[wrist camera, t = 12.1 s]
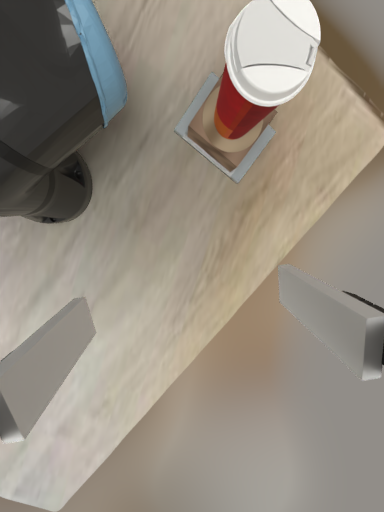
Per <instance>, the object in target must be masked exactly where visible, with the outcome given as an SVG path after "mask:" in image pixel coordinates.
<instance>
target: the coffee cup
mask: <svg viewBox="0 0 384 512" xmlns="http://www.w3.org/2000/svg"><path fill="white" fill-rule="evenodd" d="M319 44H320V24H319V19H318V16H317V13H316V10H315V9H314V7H313V5H312V3H311V2H310V1H309V0H253V1H251V2H250V3H249V4H247V5H246V6H245V7H244V8H243V9H242V10H241V11H240V13H239V14H238V16H237V17H236V19H235V20H234V21H233V23H232V24H231V25H230V27H229V30H228V33H227V36H226V41H225V48H224V55H225V59H226V64H225V68H224V73H223V77H222V81H221V85H220V90H219V94H218V98H217V103H216V107H215V113H214V124H215V127H216V129H217V131H218V133H219V134H220V135H221V136H222V137H224V138H226V139H230V140H234V139H238V138H240V137H242V136H244V135H245V134H246V133H247V132H249V131H250V130H251V129H252V128H253V127H255V126H256V125H257V124H258V123H259V122H260V121H261V120H263V119H264V118H265V117H266V116H267V115H268V114H269V113H271V112H272V111H273V110H274V109H275V108H276V107H277V106H279V105H280V104H283V103H285V102H287V101H289V100H290V99H292V98H293V97H294V96H295V95H296V94H298V93H299V92H300V90H301V89H302V88H303V87H304V85H305V84H306V82H307V81H308V79H309V77H310V74H311V72H312V70H313V66H314V63H315V58H316V53H317V50H318V49H317V47H318V45H319Z"/></svg>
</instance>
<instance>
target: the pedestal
mask: <svg viewBox="0 0 384 512" xmlns="http://www.w3.org/2000/svg"><path fill="white" fill-rule="evenodd" d="M223 73H224V72H223ZM222 77H223V74H222V75H221V77H220V78H219V80H218V81H217V83H216V84H215V86H214V87H213V89H212V90H211V92H210V93H209V95H208V97H207V98H206V100H205V101H204V103H203V104H202V106H201V107H200V109H199V110H198V112H197V113H196V115H195V116H194V118H193V119H192V121H191V122H190V124H189V125H188V135H187V137H189V138H190V139H191V140H192V141H193V142H195V143H196V144H197V145H198V146H199V147H200V148H202V149H203V150H204V151H205V152H206V153H208V154H209V155H210V156H211V157H212V158H214V159H215V160H216V161H217V162H218V163H220V164H221V165H222V166H223V167H224V168H226V169H227V170H228V171H229V172H231V171H232V170H234V169H235V168H237V167H238V166H239V164H240V163H241V161H242V160H243V159H244V157H245V156H246V155H247V153H248V152H249V150H250V149H251V148H252V146H253V145H254V144H255V142H256V141H257V140H258V138H259V137H260V135H261V134H262V133H263V131H264V130H265V129H266V127H267V126H268V124H269V123H270V122H271V120H272V119H273V118H274V116H275V115H276V114H277V111H276V110H275V109H274V110H273V111H272V112H271V113H269V114H268V115H267V116H266V117H265V118H264V119H263V120H261V121H260V122H259V123H258V124H257V125H256V126H255V127H253V128H252V129H251V130H250V131H249V132H247V133H246V134H245V135H244V136H242V137H240V138H238V139H234V140H230V139H226V138H224V137H222V136H221V135H220V134H219V133H218V131H217V129H216V127H215V124H214V113H215V107H216V103H217V98H218V94H219V90H220V85H221V81H222Z"/></svg>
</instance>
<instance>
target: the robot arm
mask: <svg viewBox="0 0 384 512" xmlns="http://www.w3.org/2000/svg"><path fill="white" fill-rule="evenodd" d="M126 101H127V86H126V81H125V78H124V74H123V71H122V68H121V66H120V63H119V60H118V58H117V55H116V53H115V50H114V48H113V45H112V43H111V41H110V38H109V36H108V34H107V32H106V30H105V27H104V25H103V23H102V21H101V19H100V17H99V15H98V12H97V10H96V8H95V6H94V4H93V2H92V0H0V217H7V216H22V217H25V218H28V219H31V220H33V221H36V222H40V223H48V224H54V223H62V222H67V221H70V220H72V219H74V218H76V217H78V216H79V215H80V214H81V213H82V212H83V211H84V210H85V209H86V207H87V205H88V204H89V201H90V198H91V194H92V180H91V176H90V172H89V170H88V167H87V165H86V164H85V162H84V160H83V159H82V158H81V156H80V155H79V154H78V153H77V152H76V150H77V149H78V148H79V147H81V146H82V145H83V144H84V143H85V142H86V141H88V140H89V139H90V138H91V137H92V136H94V135H95V134H96V133H97V132H98V131H99V130H101V129H102V128H106V127H107V125H108V122H109V121H110V120H111V119H112V118H113V117H114V116H115V115H116V114H117V113H118V112H119V111H120V110H121V109H122V108H123V107H124V106H125V104H126ZM278 274H279V275H278V276H279V298H280V303H281V304H282V305H283V306H284V307H285V308H286V309H288V311H289V312H290V313H291V314H293V315H294V316H295V317H296V318H297V319H298V320H299V321H300V322H301V323H302V324H303V325H304V326H305V327H306V328H307V329H308V330H309V331H310V332H311V333H312V334H313V335H314V336H316V337H317V338H318V339H319V340H320V341H321V342H322V343H323V344H324V345H325V346H326V347H327V348H328V349H329V350H330V351H331V352H332V353H333V354H334V355H335V356H336V357H337V358H338V359H340V360H341V361H342V362H343V363H344V364H345V365H346V366H347V367H348V368H349V369H350V370H351V371H352V372H353V373H354V374H355V375H356V376H357V377H358V378H360V379H361V381H364V380H370V379H376V378H381V373H382V364H383V365H384V309H383V308H381V307H379V306H377V305H373V303H371V302H369V301H367V300H365V299H363V298H361V297H359V296H357V295H355V294H352V293H349V292H345V291H340V290H338V289H336V288H334V287H332V286H331V285H329V284H327V283H325V282H323V281H321V280H319V279H317V278H315V277H313V276H311V275H310V274H308V273H306V272H304V271H302V270H300V269H298V268H296V267H294V266H292V265H290V264H285V265H279V266H278ZM95 334H96V330H95V327H94V324H93V320H92V317H91V314H90V311H89V307H88V304H87V301H86V298H85V297H82V298H76V299H73V300H72V301H71V302H70V303H68V304H67V305H66V306H65V307H64V308H63V309H61V310H60V311H59V312H58V313H57V314H56V315H54V316H53V317H52V318H51V319H50V320H49V321H47V322H46V323H45V324H44V325H43V326H42V327H40V328H39V329H38V330H37V331H36V332H35V333H34V334H32V335H31V336H30V337H29V338H28V339H27V340H25V341H24V342H23V343H22V344H21V345H20V346H18V347H17V348H16V349H15V350H14V351H12V352H11V353H10V354H8V355H7V356H6V357H5V358H4V359H3V360H1V362H0V437H1V439H2V441H3V443H4V444H6V443H12V442H17V441H23V440H25V438H26V437H27V436H28V434H29V433H30V431H31V430H32V428H33V427H34V425H35V424H36V422H37V421H38V419H39V418H40V416H41V415H42V413H43V412H44V410H45V409H46V407H47V406H48V404H49V403H50V401H51V400H52V398H53V397H54V395H55V394H56V392H57V391H58V389H59V388H60V386H61V385H62V383H63V382H64V380H65V379H66V377H67V376H68V374H69V373H70V371H71V370H72V368H73V367H74V365H75V364H76V362H77V361H78V359H79V358H80V356H81V355H82V353H83V352H84V350H85V349H86V347H87V346H88V344H89V343H90V341H91V340H92V338H93V337H94V335H95Z"/></svg>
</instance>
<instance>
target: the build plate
mask: <svg viewBox="0 0 384 512" xmlns="http://www.w3.org/2000/svg"><path fill="white" fill-rule="evenodd" d="M218 80H219V78H218V77H217V76H216V75H215V74H214V73H213V72H211V74H210V75H209V77H208V78H207V80H206V81H205V83H204V85H203V86H202V88H201V89H200V91H199V92H198V94H197V95H196V97H195V98H194V100H193V101H192V103H191V105H190V106H189V108H188V109H187V111H186V112H185V114H184V115H183V117H182V118H181V120H180V121H179V123H178V125H177V126H176V128H175V129H174V132H175V133H176V134H178V135H179V136H180V137H181V138H182V139H184V140H185V141H186V142H187V143H188V144H190V145H191V146H192V147H193V148H194V149H196V150H197V151H198V152H199V153H201V154H202V155H203V156H204V157H205V158H207V159H208V160H209V161H210V162H211V163H213V164H214V165H215V166H216V167H217V168H219V169H220V170H221V171H222V172H223V173H225V174H226V175H227V176H228V177H229V178H231V179H232V180H233V181H234V182H235V183H239V181H240V180H241V179H242V177H243V176H244V175H245V173H246V172H247V171H248V169H249V168H250V167H251V165H252V164H253V162H254V161H255V160H256V158H257V157H258V156H259V154H260V153H261V152H262V150H263V149H264V148H265V146H266V145H267V144H268V142H269V141H270V140H271V138H272V137H273V136H274V134H275V133H276V131H275V130H274V129H273V128H271V127H270V126H269V124H268V126H267V127H266V129H265V130H264V131H263V133H262V134H261V135H260V137H259V138H258V140H257V141H256V142H255V144H254V145H253V146H252V148H251V149H250V150H249V152H248V153H247V155H246V156H245V157H244V159H243V160H242V161H241V163H240V164H239V166H238V167H237V168H235V169H234V170H232V171H231V172H229V171H228V170H227V169H226V168H224V167H223V166H222V165H221V164H220V163H218V162H217V161H216V160H215V159H214V158H212V157H211V156H210V155H209V154H208V153H206V152H205V151H204V150H203V149H202V148H200V147H199V146H198V145H197V144H196V143H195V142H193V141H192V140H191V139H190V138H189V137H187V135H188V125H189V124H190V122H191V121H192V119H193V118H194V116H195V115H196V113H197V112H198V110H199V109H200V107H201V106H202V104H203V103H204V101H205V100H206V98H207V97H208V95H209V93H210V92H211V90H212V89H213V87H214V86H215V84H216V83H217V81H218Z"/></svg>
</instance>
